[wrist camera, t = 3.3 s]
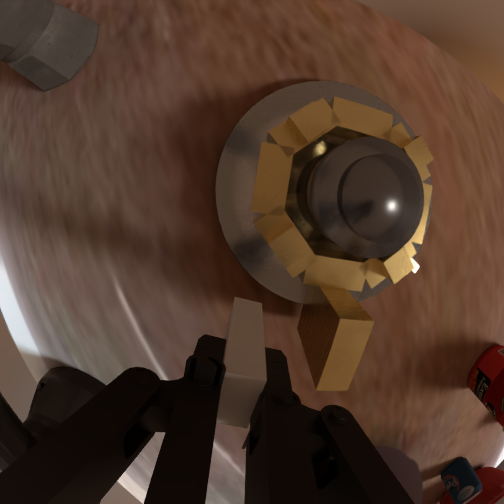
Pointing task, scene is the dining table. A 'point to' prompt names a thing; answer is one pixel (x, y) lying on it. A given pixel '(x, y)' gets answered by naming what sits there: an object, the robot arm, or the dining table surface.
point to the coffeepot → (45, 40)
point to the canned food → (490, 381)
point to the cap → (321, 190)
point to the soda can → (461, 481)
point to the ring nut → (326, 260)
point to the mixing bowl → (485, 487)
